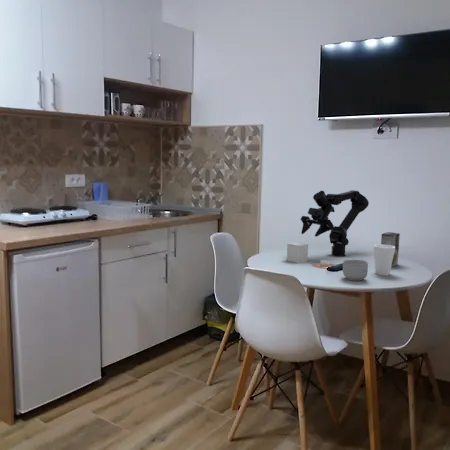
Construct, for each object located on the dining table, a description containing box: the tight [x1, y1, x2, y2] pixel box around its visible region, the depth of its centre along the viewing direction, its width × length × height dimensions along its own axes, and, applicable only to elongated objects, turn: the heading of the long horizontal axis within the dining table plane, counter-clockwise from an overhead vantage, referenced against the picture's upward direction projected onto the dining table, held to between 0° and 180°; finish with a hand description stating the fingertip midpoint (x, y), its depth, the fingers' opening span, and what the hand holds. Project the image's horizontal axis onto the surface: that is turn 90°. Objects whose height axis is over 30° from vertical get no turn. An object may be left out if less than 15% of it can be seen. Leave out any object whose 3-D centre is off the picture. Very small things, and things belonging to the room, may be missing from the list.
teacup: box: [342, 258, 369, 282], centre depth 204 cm, size 14×11×8 cm
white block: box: [286, 241, 309, 264], centre depth 234 cm, size 7×7×9 cm
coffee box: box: [380, 231, 401, 268], centre depth 233 cm, size 9×6×16 cm
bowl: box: [320, 259, 330, 267], centre depth 225 cm, size 4×4×2 cm
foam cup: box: [373, 243, 395, 276], centre depth 213 cm, size 10×9×13 cm
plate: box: [310, 262, 337, 270], centre depth 225 cm, size 13×13×1 cm
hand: (308, 234), depth 238 cm, fingers open, 9 cm apart
